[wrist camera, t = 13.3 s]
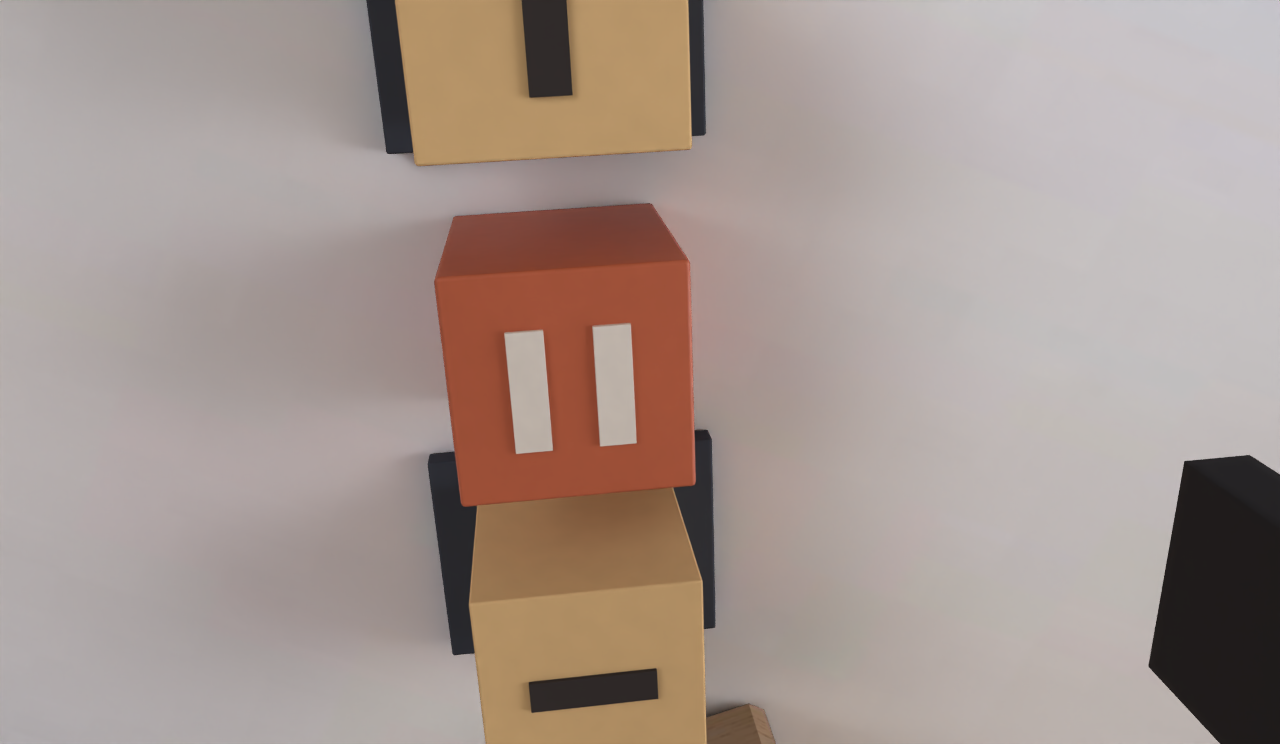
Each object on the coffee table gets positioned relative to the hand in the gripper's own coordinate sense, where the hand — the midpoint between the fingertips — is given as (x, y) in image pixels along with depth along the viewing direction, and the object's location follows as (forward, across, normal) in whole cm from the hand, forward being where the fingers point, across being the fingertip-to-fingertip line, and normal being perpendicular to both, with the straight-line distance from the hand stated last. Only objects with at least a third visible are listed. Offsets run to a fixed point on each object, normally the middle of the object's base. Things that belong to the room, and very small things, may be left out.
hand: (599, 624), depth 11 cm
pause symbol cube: (+14, 0, -1) cm, 14 cm away
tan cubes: (+14, 0, 0) cm, 14 cm away
